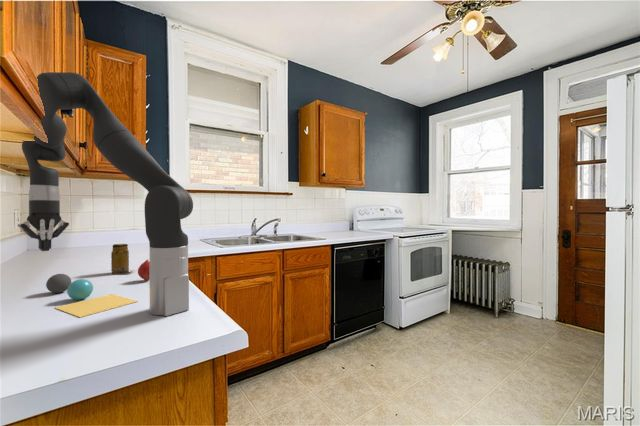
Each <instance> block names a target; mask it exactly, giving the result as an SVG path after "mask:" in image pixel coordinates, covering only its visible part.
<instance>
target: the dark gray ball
mask: <svg viewBox="0 0 640 426" xmlns="http://www.w3.org/2000/svg"><path fill="white" fill-rule="evenodd" d="M71 283H72V279H71V277H70V276H69V275H67V274H65V273H56V274H53V275H52V276H50V277H49V278H48V279H47V281H46V283H45V285H46V286H45V287H46V289H47V290H48V291H49V292H51V293H55V294H60V293H63V292H65V291H66V292H67V288H68V286H69V285H70V284H71Z"/></svg>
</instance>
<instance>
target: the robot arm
mask: <svg viewBox="0 0 640 426" xmlns="http://www.w3.org/2000/svg"><path fill="white" fill-rule="evenodd" d="M36 78H37V79H38V87H39V92H40V97H41V100H42V103H43V106H44V111H45V116H44V117H43V118H42V119H41V124H42V126H43V129H44V131H45V134H46V135H47V138H48V143H46V142H43V141H41V140H40V139H39V138H37V137H36V136H34V137H33V138H34V140H35V141H24V140H23V141H22V143H21V150H22V153H23V155H24V158H25V160H26V163H27V166H28V170H29V189H28V216H27V217H26V220H24V222H22V223H18V224H17V227H18V228H19V229H20V230H22V232H24V233H25V234H26V235H27V236H29V238H31V239H35V240H37V241H38V250H40V251H41V252H48V251H50V250H51V249H52V240H53V239H55V238H58V237H59V236H60V235H61V234H62V233H63V232H64V231H65V230H66V229H67V227H69V226H70V222H66V221H64V220H62V217H61V215H60V213H61V210H60V209H61V206H60V205H61V204H60V203H61V195H60V194H61V193H60V188H59V187H60V186H59V185H60V183H59V181H60V178H59V177H60V175H59V174H60V173H59V171H58V169H55V168H52V167H47V166H44V165H43V164H41V163H40V162H39V161H45V162H47V161H48V162H53V163H56V162H60V161H61V162H62V161H63V160H64V159H65V157H66V154H67V152H66V148H65V145H64V140H65V137H66V135H67V132H68V131H67V129H68V127H67V124H66V122H65V120H64V119H63V118H62V117H61V116H60V115H59V114H57V112H59V111H60V110H75V109H82V110H85V111H86V112H87V113H88V114H89V115H90V117H91V118H92V122H93V125H92V127H93V128H92V140H93V144H94V146H95V147H96V149H97V150H98V152H99V153H100V154H102V156H103V157H104V159H106V161H108V163H109V164H111V165H112V166H113V167H114V168H115V169H117V170H118V171H120V172H121V173H123V175H124V174H125V176H127V177H129V178H130V179H131V180H134V181H135V182H136V183H138V184H139V185H140V186H142V187H143V188H144V189H145V190H146V191H147V192H148V193H147V194H146V196H145V200H144V223H145V225H144V226H145V234H146V237H147V240H148V242H149V243H148V244H149V259H148V260H149V262H150V279H149V313H150V314H151V315H155V316H165V317H167V316H172V315H176V314H178V313H182V312H187V311H189V310H190V292H189V291H190V276H189V236H188V234H186V233H185V232H184V231H183V229H182V224H181V223H182V222H181V221H182V219H186V218H188V217H189V216H190V215H191V214H192V212H193V210H194V202H193V198H192V196H191V195H190V193H189V192H188V190H186V189H185V188H184V187H183V186H182V185H181V184H179V182H177V181H176V180H175V179H174V178H173V177H172V176H170V174H169V173H167V172H166V170H164V169H163V168H162V166H161V165H160V164H159V163H158V162H157V161H156V160H155V159H154V157H153V156H152V155H151V154H150V152H149V151H148V150H147V149H146V148H145V147H144V146H143V144H142V143H141V142H140V141H139V140H138V138H136V137H135V136H134V134H132V132H131V131H130V130H129V129H128V128H127V127H126V126H125V125H124V123H122V122H121V121H120V119H118V118H117V116H116V115H115V114H114V113H113V111H112V110H111V109H110V107H108V105H107V104H106V103H105V101H104V100H103V98H102V97H101V96H100V95H99V93H98V92H97V90H96V89H95V88H94V87H93V86H92V84H91V83H90V82H89V81H88V79H87V78H85V77H84V76H83V75H82V74H80V73H76V72H71V71H70V72H69V71H68V72H63V71H62V72H61V71H60V72H59V71H58V72H54V71H50V72H49V71H48V72H41V73H39V74H38V75H37V76H36ZM31 226H32V227H33V228H34V229H35V231H36V232H34V231H33V230H32V228H31ZM56 226H58V227H56ZM55 228H56V229H55Z"/></svg>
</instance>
